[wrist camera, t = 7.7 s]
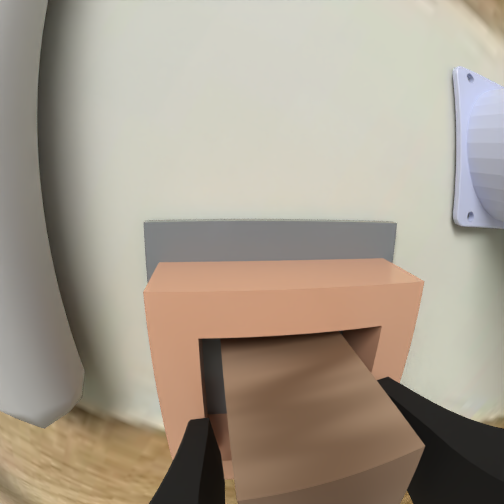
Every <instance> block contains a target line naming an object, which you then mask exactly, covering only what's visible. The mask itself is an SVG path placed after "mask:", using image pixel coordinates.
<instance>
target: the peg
mask: <svg viewBox="0 0 504 504" xmlns="http://www.w3.org/2000/svg"><path fill="white" fill-rule="evenodd" d="M220 342H221V355H222V366H223V378H224V389H225V399H226V409H227V419H228V429H229V438H230V447H231V456H232V465H233V473H234V481H235V489H236V497H237V502H238V504H400V503H401V501H402V499H403V497H404V495H405V493H406V490H407V488H408V486H409V484H410V482H411V480H412V477H413V475H414V473H415V470H416V468H417V466H418V463H419V461H420V458H421V456H422V453H423V450H424V448H425V445H424V443H423V442H422V441H421V439H420V438H419V437H418V435H417V434H416V433H415V431H414V430H413V428H412V427H411V426H410V424H409V423H408V422H407V420H406V419H405V418H404V416H403V415H402V414H401V412H400V411H399V410H398V408H397V407H396V406H395V404H394V403H393V402H392V400H391V399H390V398H389V396H388V395H387V394H386V392H385V391H384V390H383V388H382V387H381V386H380V384H379V383H378V382H377V380H376V379H375V378H374V376H373V375H372V374H371V372H370V371H369V370H368V368H367V367H366V366H365V364H364V363H363V362H362V360H361V359H360V358H359V357H358V355H357V354H356V353H355V351H354V350H353V349H352V347H351V346H350V345H349V343H348V342H347V341H346V340H345V338H344V337H343V336H342V334H341V333H340V332H339V331H331V332H320V333H308V334H295V335H280V336H262V337H240V338H220Z"/></svg>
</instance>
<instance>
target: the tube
mask: <svg viewBox="0 0 504 504" xmlns="http://www.w3.org/2000/svg"><path fill="white" fill-rule="evenodd" d="M47 5H48V0H0V411H2V412H4V413H6V414H8V415H10V416H12V417H14V418H17V419H19V420H22V421H24V422H27V423H30V424H33V425H35V426H38V427H41V428H44V429H45V428H46V427H48V426H49V425H51V424H52V423H54V422H55V421H57V420H58V419H60V418H61V417H62V416H64V415H65V414H67V413H68V412H70V411H71V409H72V408H73V407H74V406H75V405H76V403H77V402H78V401H79V400H80V399H81V398H82V392H83V383H84V374H85V370H84V368H83V365H82V362H81V360H80V357H79V354H78V351H77V348H76V345H75V342H74V339H73V336H72V333H71V330H70V327H69V323H68V320H67V317H66V313H65V310H64V306H63V302H62V299H61V295H60V291H59V287H58V283H57V279H56V274H55V270H54V265H53V261H52V256H51V251H50V246H49V240H48V235H47V229H46V222H45V216H44V209H43V201H42V192H41V183H40V172H39V158H38V136H37V97H38V76H39V63H40V52H41V43H42V35H43V28H44V22H45V16H46V10H47Z"/></svg>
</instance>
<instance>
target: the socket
mask: <svg viewBox="0 0 504 504" xmlns="http://www.w3.org/2000/svg"><path fill="white" fill-rule="evenodd" d="M396 226H397V223H395V222H389V221H355V220H300V219H203V220H149V221H145V222H144V238H145V255H146V269H147V281H148V284H147V286H146V288H145V290H144V292H143V294H144V303H145V312H146V320H147V328H148V336H149V343H150V350H151V357H152V363H153V369H154V375H155V381H156V386H157V392H158V397H159V402H160V407H161V412H162V417H163V422H164V427H165V431H166V436H167V440H168V444H169V448H170V452H171V456H172V460H173V459H174V457H175V455H176V453H177V451H178V448H179V446H180V443H181V441H182V438H183V436H184V433H185V430H186V427H187V424H188V422H189V421H190V420H191V419H200V418H208V417H209V419H210V422H211V425H212V429H213V432H214V435H215V438H216V441H217V444H218V447H219V450H220V452H221V457H222V464H223V472H224V479H234V473H233V465H232V456H231V447H230V438H229V429H228V419H227V409H226V399H225V389H224V378H223V366H222V355H221V342H220V338H240V337H262V336H280V335H295V334H308V333H320V332H331V331H339V332H340V333H341V334H342V336H343V337H344V338H345V340H346V341H347V342H348V343H349V345H350V346H351V347H352V349H353V350H354V351H355V353H356V354H357V355H358V357H359V358H360V359H361V360H362V362H363V363H364V364H365V366H366V367H367V368H368V370H369V371H370V372H371V374H372V375H373V376H374V378H375V379H376V380H379V379H382V378H385V377H390V378H391V379H393V380H395V381H397V382H398V383H400V380H401V376H402V373H403V370H404V366H405V363H406V359H407V356H408V352H409V348H410V345H411V341H412V337H413V333H414V328H415V324H416V320H417V315H418V311H419V306H420V301H421V296H422V291H423V286H424V281H423V280H421V279H419V278H417V277H416V276H414V275H412V274H411V273H409V272H407V271H405V270H403V269H402V268H400V267H398V266H396V265H395V264H393V263H392V262H393V254H394V245H395V236H396Z"/></svg>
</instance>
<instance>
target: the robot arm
mask: <svg viewBox="0 0 504 504" xmlns="http://www.w3.org/2000/svg"><path fill="white" fill-rule="evenodd" d="M467 77H468V79H467ZM468 80H469V81H468ZM453 82H454V94H455V109H456V180H455V197H454V209H453V220H454V222H455V224H456V225H459V226H463V227H481V228H498V229H504V87H502V86H501V85H499V84H497V83H495V82H493V81H491V80H489V79H487V78H485V77H483V76H481V75H479V74H477V73H475V72H473V71H471V70H469V69H466V68H464V67H462V66H459V67H456V68H454V69H453ZM468 213H469V217H468V219H467V216H468ZM377 382H378V383H379V384H380V386H381V387H382V388H383V390H384V391H385V392H386V394H387V395H388V396H389V398H390V399H391V400H392V402H393V403H394V404H395V406H396V407H397V408H398V410H399V411H400V412H401V414H402V415H403V416H404V418H405V419H406V420H407V422H408V423H409V424H410V426H411V427H412V428H413V430H414V431H415V433H416V434H417V435H418V437H419V438H420V439H421V441H422V442H423V443H424V445H425V448H424V450H423V453H422V456H421V458H420V461H419V463H418V466H417V468H416V470H415V473H414V475H413V477H412V480H411V482H410V484H409V486H408V488H407V491H408V493H409V495H410V497H411V499H412V502H413V504H504V429H502V428H498V427H493V426H490V425H486V424H483V423H480V422H477V421H474V420H471V419H468V418H465V417H463V416H461V415H458V414H456V413H454V412H451V411H449V410H447V409H445V408H443V407H441V406H439V405H437V404H435V403H433V402H431V401H429V400H428V399H426V398H424V397H422V396H420V395H419V394H417V393H415V392H413V391H412V390H410V389H408V388H407V387H405V386H403V385H402V384H400V383H398V382H397V381H395V380H393V379H391V378H390V377H385V378H382V379H379V380H377ZM149 504H225V479H224V472H223V464H222V457H221V452H220V450H219V447H218V444H217V441H216V438H215V435H214V432H213V429H212V425H211V422H210V419H209V417H208V418H200V419H191V420H190V421H189V422H188V424H187V427H186V430H185V433H184V436H183V438H182V441H181V443H180V446H179V448H178V451H177V453H176V455H175V457H174V459H173V462H172V464H171V466H170V468H169V470H168V472H167V474H166V476H165V477H164V479H163V481H162V483H161V485H160V486H159V488H158V490H157V492H156V493H155V495H154V497H153V498H152V500H151V501H150V503H149Z"/></svg>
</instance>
